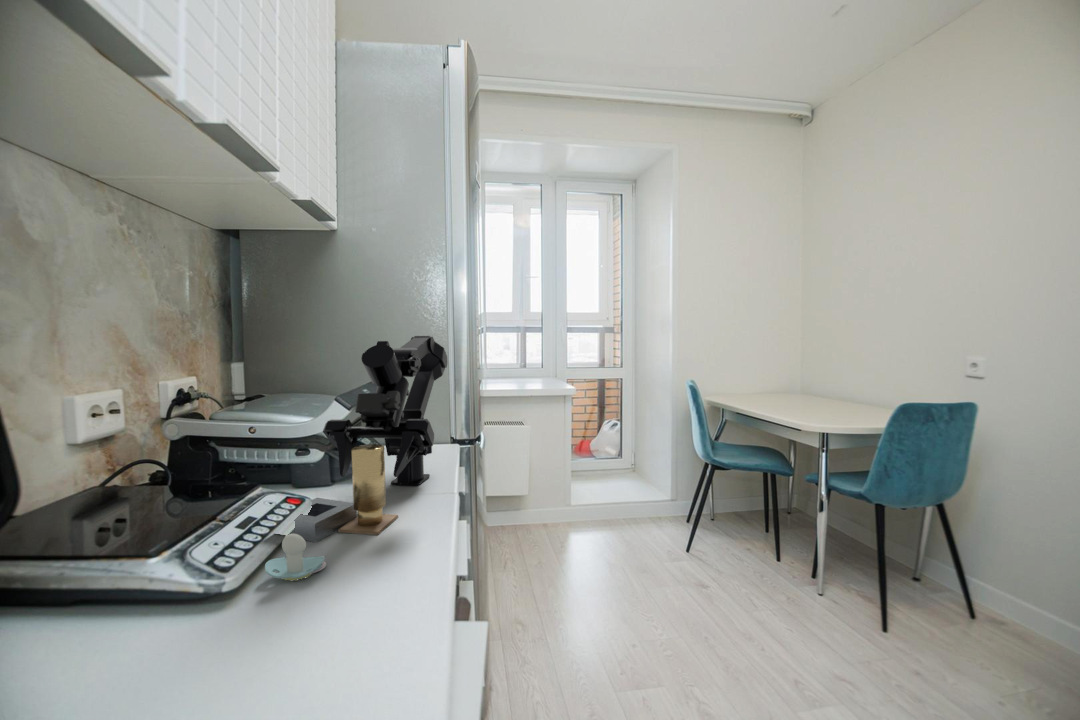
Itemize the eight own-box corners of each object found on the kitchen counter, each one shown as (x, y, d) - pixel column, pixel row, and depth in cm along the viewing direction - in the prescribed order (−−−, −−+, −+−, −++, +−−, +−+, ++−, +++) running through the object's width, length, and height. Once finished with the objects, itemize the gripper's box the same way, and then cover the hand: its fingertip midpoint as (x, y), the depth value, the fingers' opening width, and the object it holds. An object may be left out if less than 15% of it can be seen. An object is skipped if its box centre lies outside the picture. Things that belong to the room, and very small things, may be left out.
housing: (317, 513, 84) (317, 497, 84) (357, 520, 81) (356, 503, 81) (273, 534, 76) (272, 516, 76) (315, 542, 73) (314, 523, 73)
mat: (361, 515, 83) (361, 512, 83) (398, 517, 82) (398, 514, 82) (338, 532, 76) (338, 529, 76) (378, 534, 75) (378, 531, 75)
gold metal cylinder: (357, 517, 81) (354, 445, 81) (388, 514, 82) (386, 443, 82) (351, 529, 76) (348, 452, 76) (384, 526, 77) (381, 450, 77)
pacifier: (282, 565, 66) (259, 586, 60) (281, 521, 66) (258, 539, 60) (335, 563, 67) (317, 584, 61) (333, 520, 67) (315, 537, 61)
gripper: (325, 375, 84) (294, 452, 73) (428, 374, 83) (411, 452, 73) (346, 410, 92) (321, 484, 82) (440, 410, 91) (426, 484, 81)
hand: (368, 476), depth 79 cm, fingers open, 9 cm apart
